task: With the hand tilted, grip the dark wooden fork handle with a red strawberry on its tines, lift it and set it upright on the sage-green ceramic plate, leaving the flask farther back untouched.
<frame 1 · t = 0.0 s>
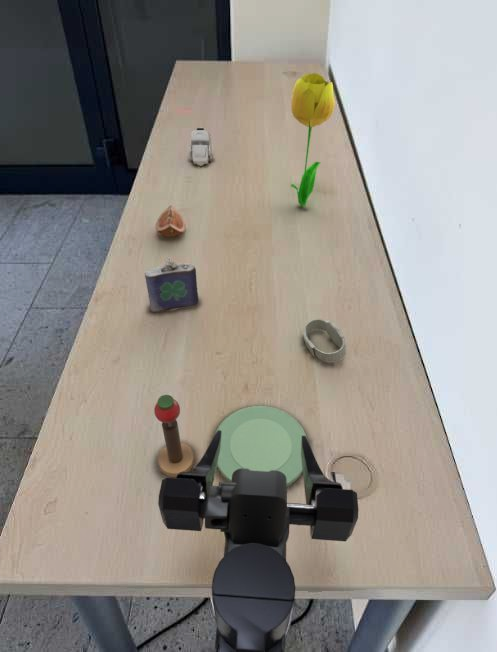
hand: (261, 434, 53), 17 cm above the table, tool horizontal, fingers open, 9 cm apart
wristwatch: (322, 348, 86), on the table
strawberry fork: (176, 461, 70), on the table
fruit slice: (171, 234, 111), on the table
flask: (174, 306, 94), on the table
plate: (260, 448, 72), on the table
flower: (302, 208, 120), on the table
white toy car: (201, 162, 136), on the table
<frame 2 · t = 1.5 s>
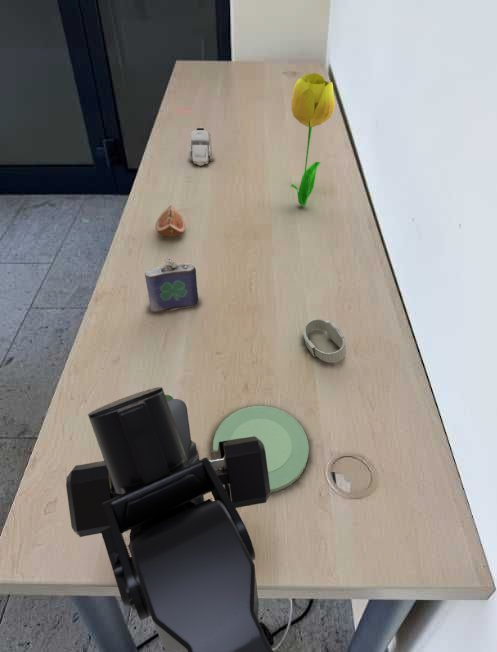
hand: (172, 461, 55), 13 cm above the table, tool tilted 45°, fingers open, 9 cm apart
nothing on the table moved.
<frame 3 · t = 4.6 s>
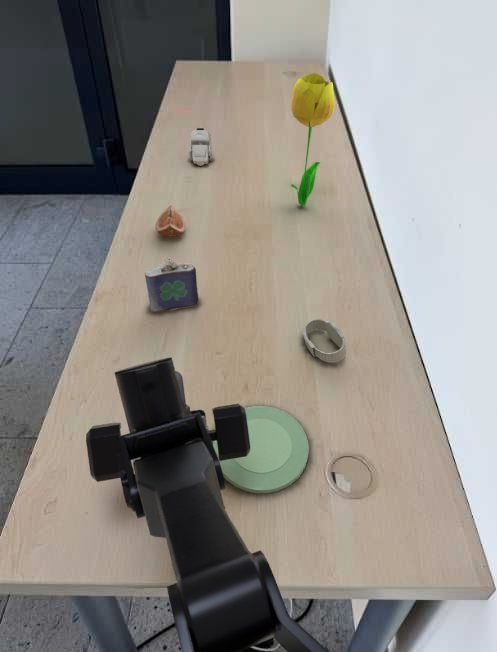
hand: (171, 427, 66), 7 cm above the table, tool tilted 45°, fingers closed on strawberry fork
strawberry fork: (176, 461, 70), on the table, touching gripper
everything else where it was.
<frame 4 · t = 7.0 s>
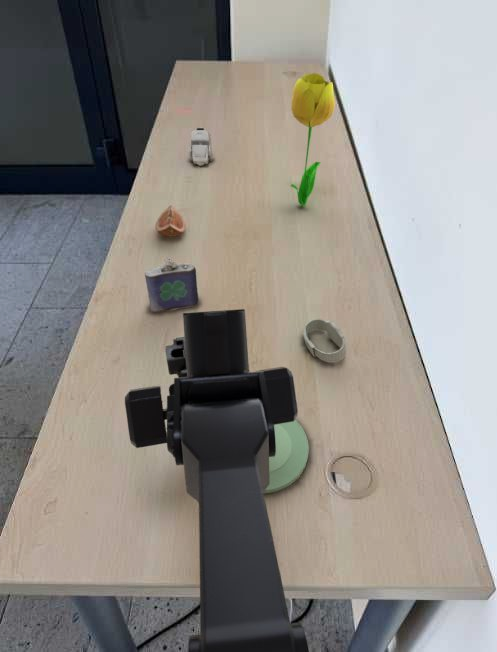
hand: (207, 396, 63), 12 cm above the table, tool tilted 45°, fingers closed on strawberry fork
strawberry fork: (211, 433, 66), point 6 cm above the table, touching gripper
everything else where it was.
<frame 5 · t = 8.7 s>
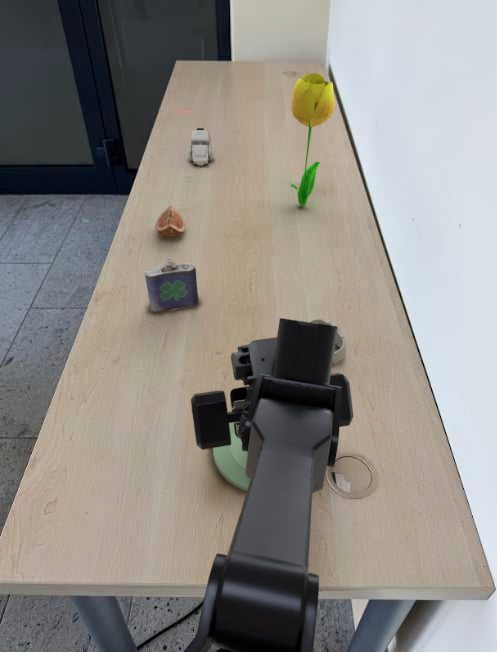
hand: (260, 400, 65), 10 cm above the table, tool tilted 45°, fingers closed on strawberry fork
strawberry fork: (261, 436, 69), point 4 cm above the table, touching gripper
everything else where it was.
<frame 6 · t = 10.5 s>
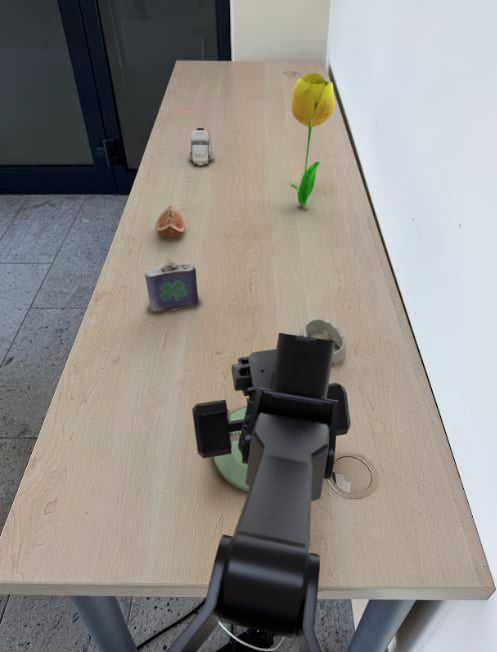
hand: (260, 408, 67), 8 cm above the table, tool tilted 45°, fingers open, 9 cm apart
strawberry fork: (260, 445, 71), point 1 cm above the table, touching plate
everything else where it was.
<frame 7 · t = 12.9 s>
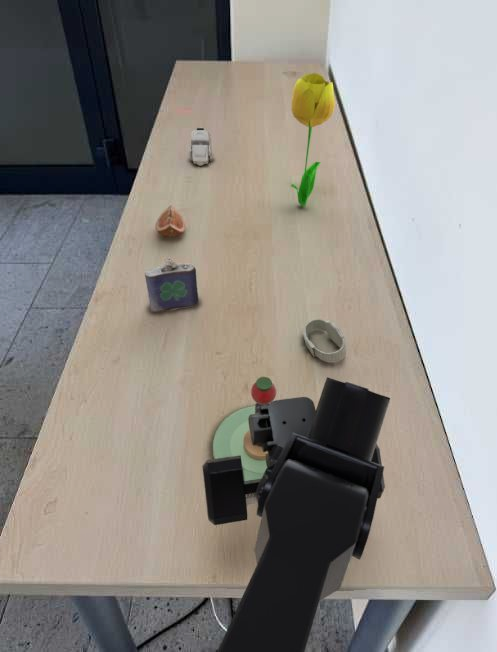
hand: (278, 466, 59), 9 cm above the table, tool tilted 40°, fingers open, 9 cm apart
nothing on the table moved.
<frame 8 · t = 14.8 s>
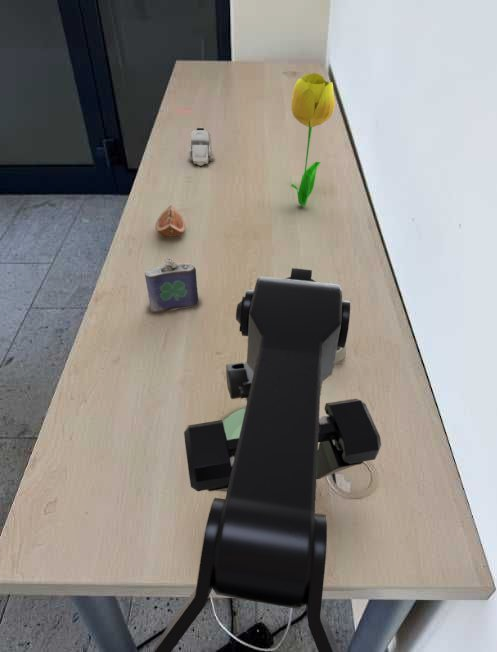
hand: (276, 482, 54), 13 cm above the table, tool pointing down, fingers open, 9 cm apart
nothing on the table moved.
at the end: strawberry fork inside the target area on the plate (0.1 cm from its centre), point 1.1 cm above the plate's base; strawberry fork tilted 0°; flask moved 0.2 cm from its start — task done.
